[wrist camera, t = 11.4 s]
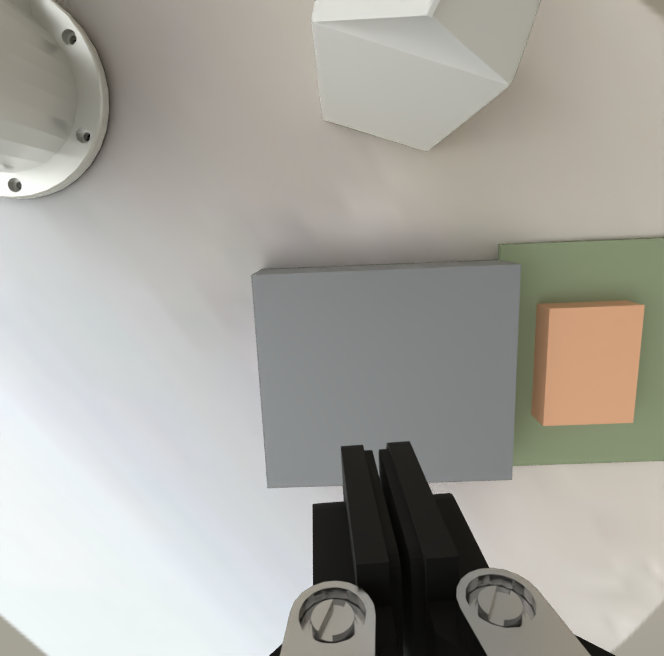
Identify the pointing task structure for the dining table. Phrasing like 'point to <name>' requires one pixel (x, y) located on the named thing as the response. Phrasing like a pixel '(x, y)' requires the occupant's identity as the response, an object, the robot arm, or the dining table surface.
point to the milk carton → (415, 62)
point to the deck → (388, 367)
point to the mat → (588, 286)
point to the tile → (586, 362)
